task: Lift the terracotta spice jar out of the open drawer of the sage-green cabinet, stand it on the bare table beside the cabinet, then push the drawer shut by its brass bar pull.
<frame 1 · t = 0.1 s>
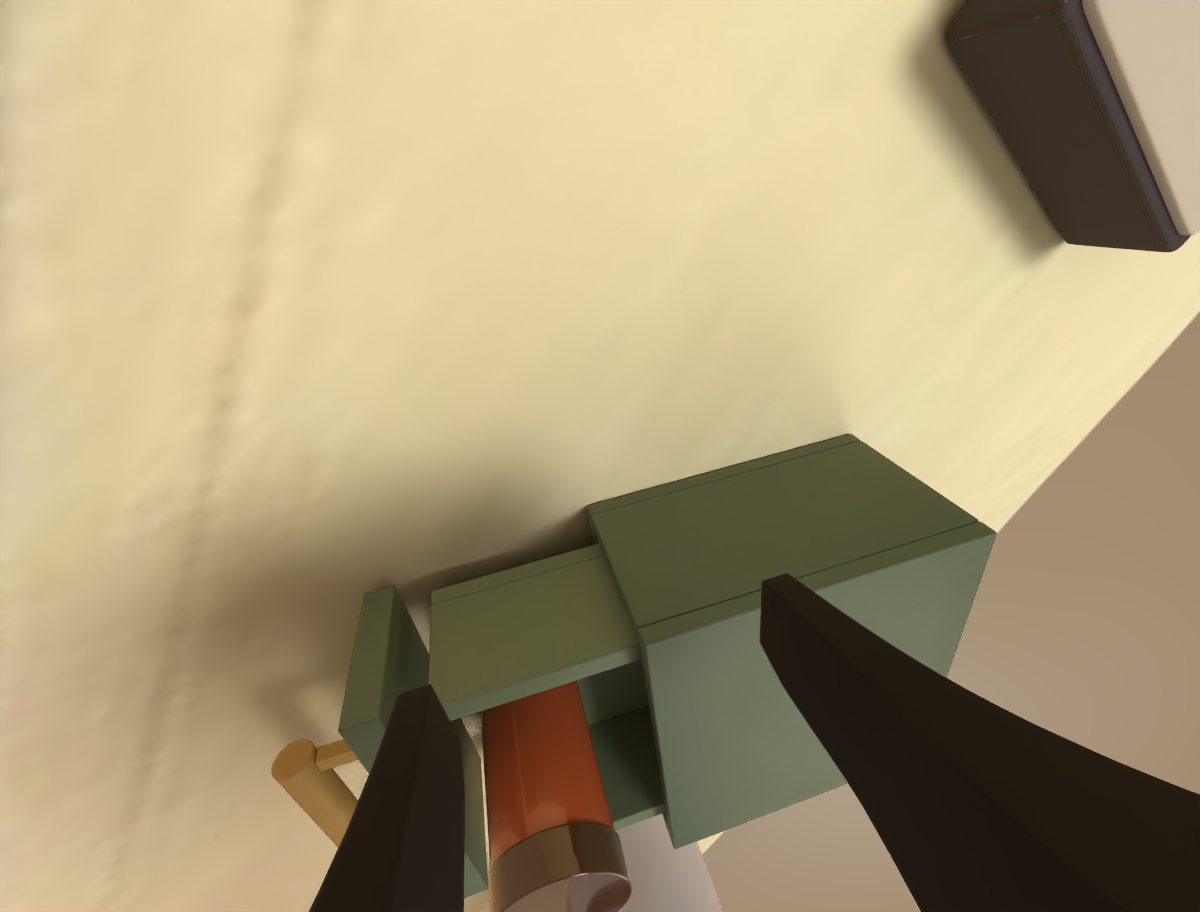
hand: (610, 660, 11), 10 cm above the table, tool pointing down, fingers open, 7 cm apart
spice jar: (527, 677, 23), point 2 cm above the table, touching drawer
cabinet: (725, 581, 26), on the table
drawer: (505, 723, 21), point 4 cm above the table, slide at 8.0 cm, touching spice jar
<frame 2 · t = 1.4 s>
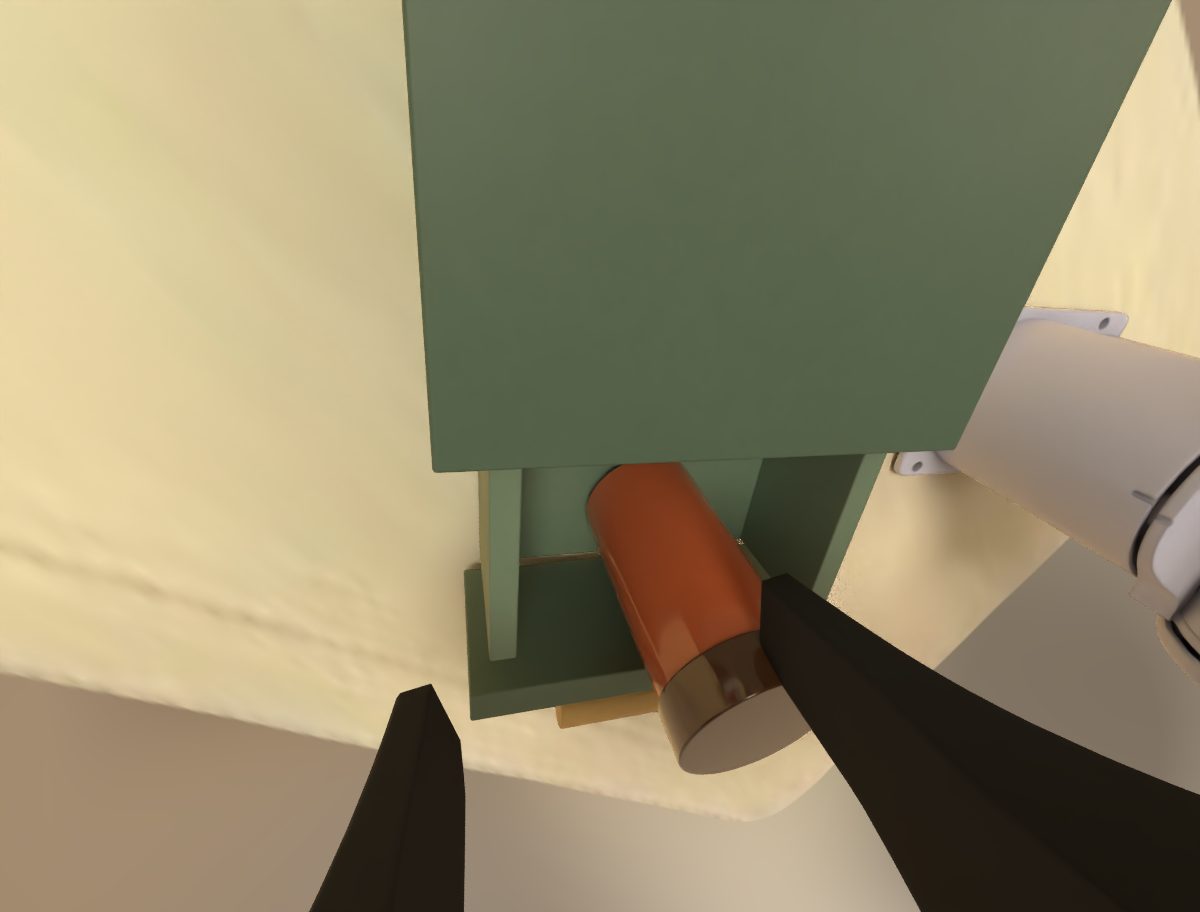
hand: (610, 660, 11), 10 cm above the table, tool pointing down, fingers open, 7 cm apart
spice jar: (640, 501, 19), point 2 cm above the table, tilted 9°, touching drawer, gripper
cabinet: (664, 166, 16), on the table
drawer: (648, 550, 18), point 4 cm above the table, slide at 8.3 cm, touching spice jar
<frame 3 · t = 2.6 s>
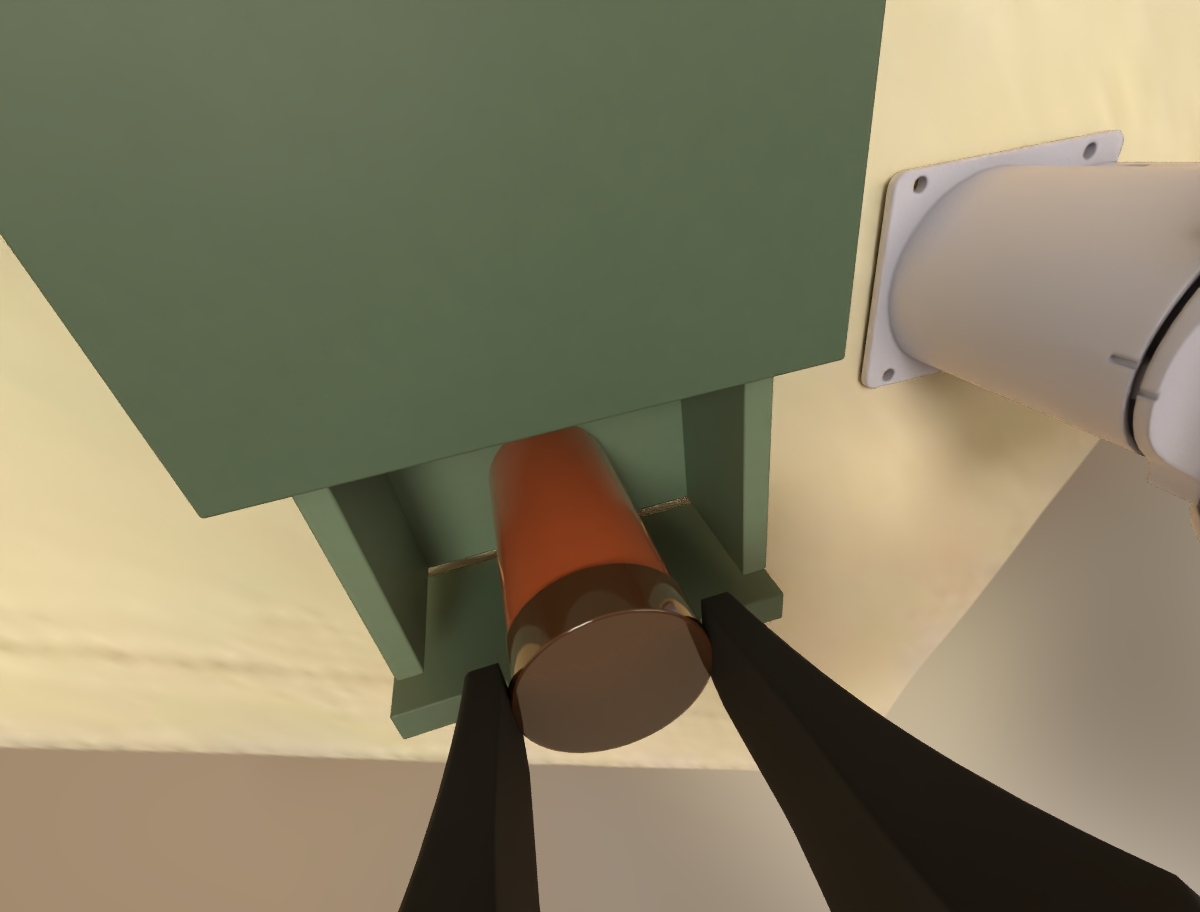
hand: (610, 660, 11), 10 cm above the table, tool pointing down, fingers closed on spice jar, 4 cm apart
spice jar: (550, 476, 18), point 2 cm above the table, touching drawer, gripper
cabinet: (461, 111, 14), on the table
drawer: (565, 533, 17), point 4 cm above the table, slide at 8.3 cm, touching spice jar
when the fingers open (2 cm above the table, at t = 8.8 s): spice jar stays where it is, on the table.
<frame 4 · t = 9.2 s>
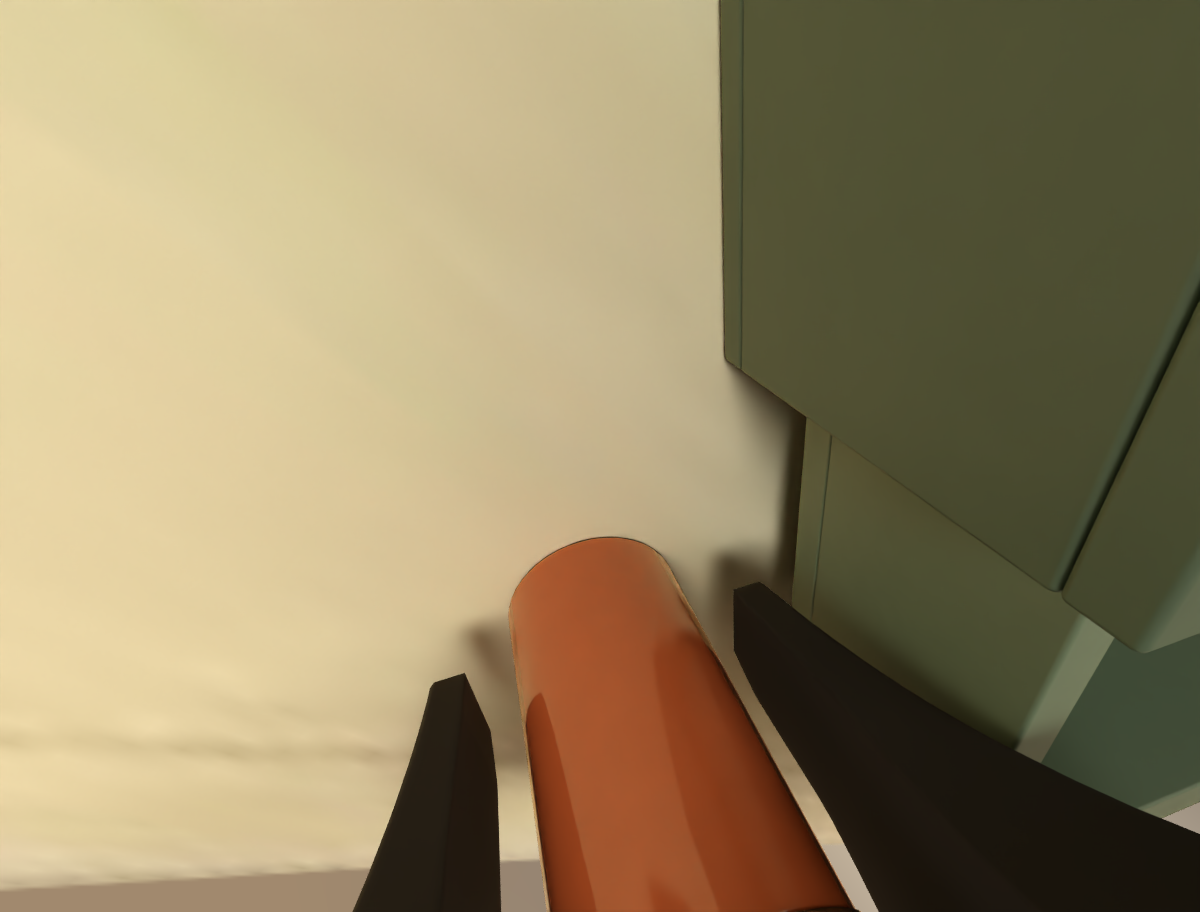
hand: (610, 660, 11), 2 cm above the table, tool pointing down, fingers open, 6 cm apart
spice jar: (593, 604, 13), on the table
drawer: (1097, 593, 11), point 4 cm above the table, slide at 8.3 cm, touching gripper
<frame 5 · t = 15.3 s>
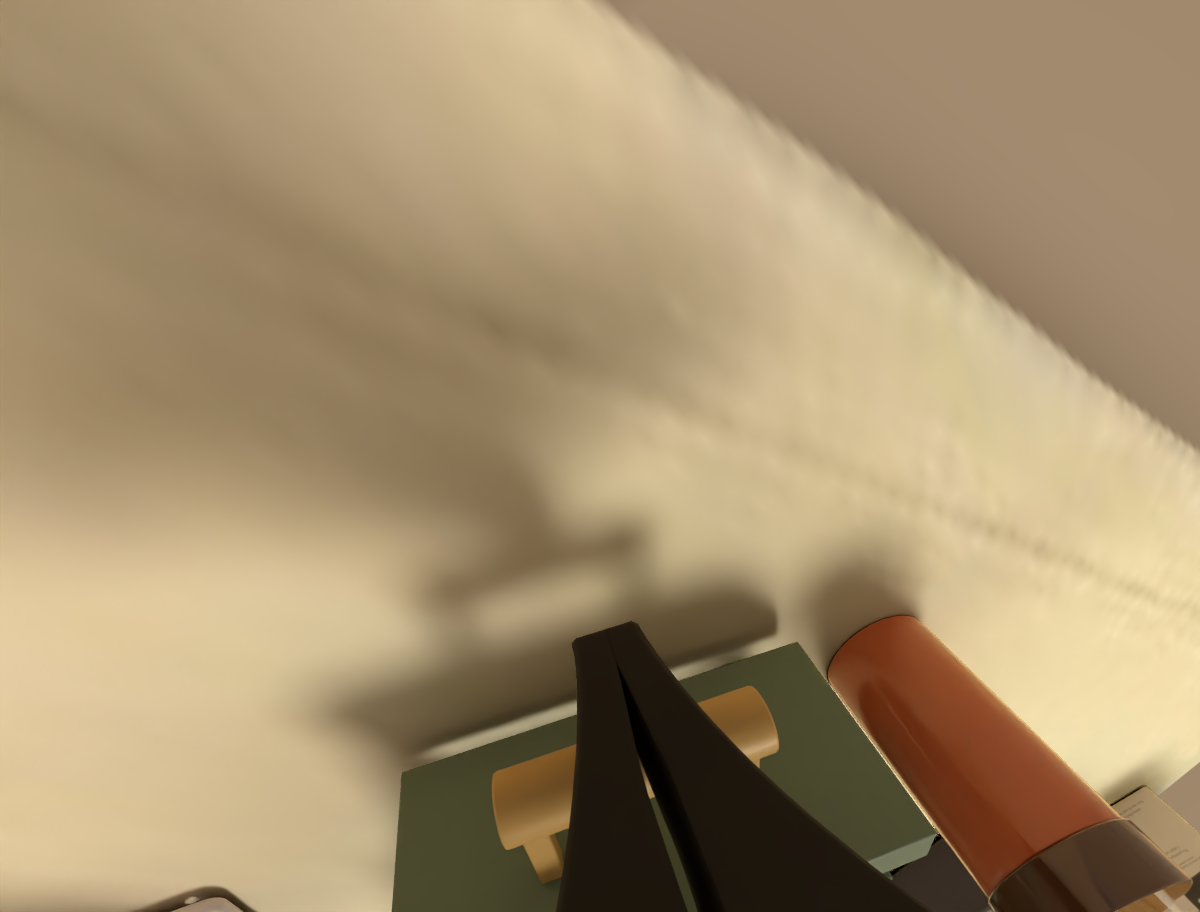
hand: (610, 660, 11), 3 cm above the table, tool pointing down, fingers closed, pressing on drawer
spice jar: (875, 654, 20), on the table
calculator: (964, 854, 37), on the table
ink box: (1119, 810, 42), on the table
drawer: (652, 860, 15), point 4 cm above the table, slide at 8.2 cm, touching gripper
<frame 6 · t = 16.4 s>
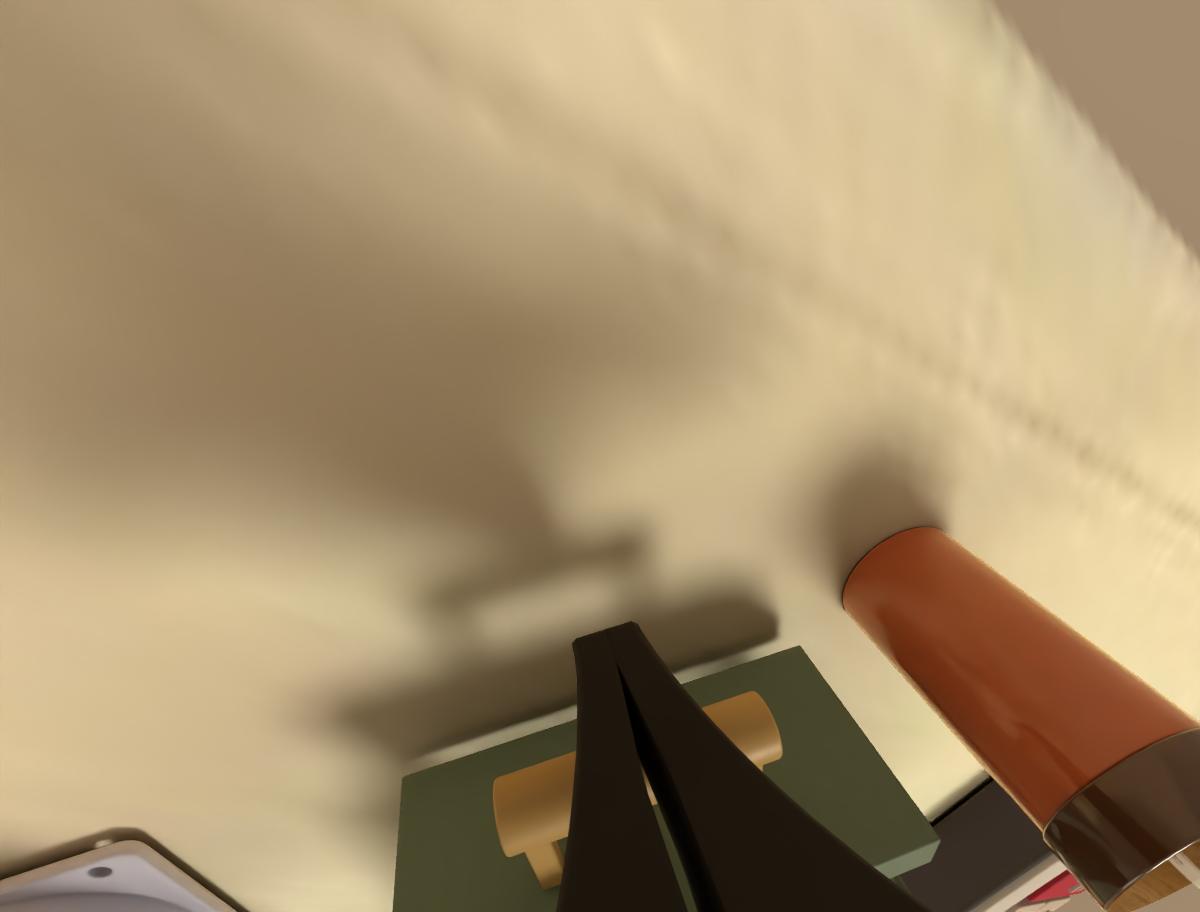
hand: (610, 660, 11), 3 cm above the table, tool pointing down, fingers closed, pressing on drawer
spice jar: (897, 576, 18), on the table
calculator: (981, 828, 34), on the table
drawer: (654, 865, 15), point 4 cm above the table, slide at 3.8 cm, touching gripper
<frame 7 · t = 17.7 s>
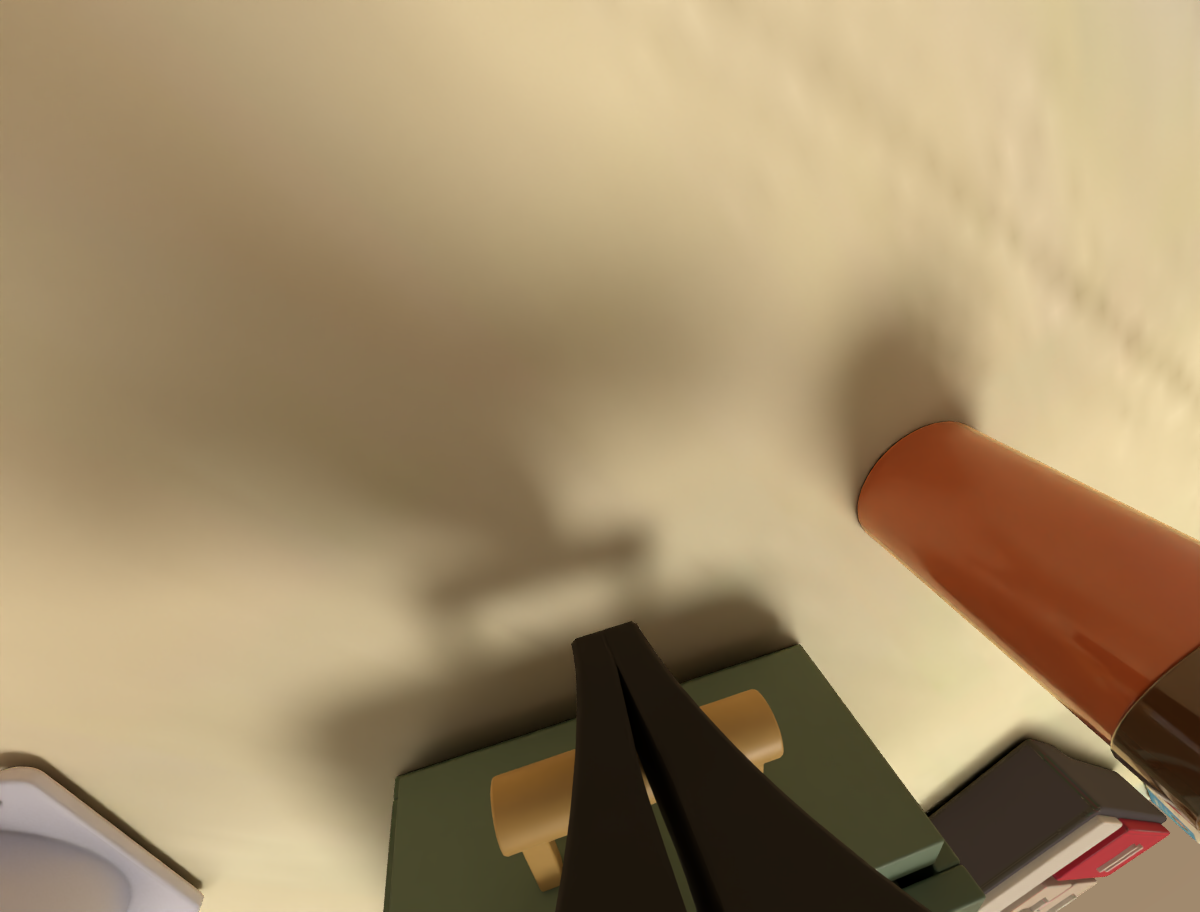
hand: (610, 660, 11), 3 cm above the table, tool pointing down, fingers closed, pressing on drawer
spice jar: (918, 484, 16), on the table
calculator: (1000, 806, 32), on the table
cabinet: (629, 800, 20), on the table
ink box: (1170, 764, 37), on the table
drawer: (653, 868, 15), point 4 cm above the table, slide at 0.0 cm, touching cabinet, gripper
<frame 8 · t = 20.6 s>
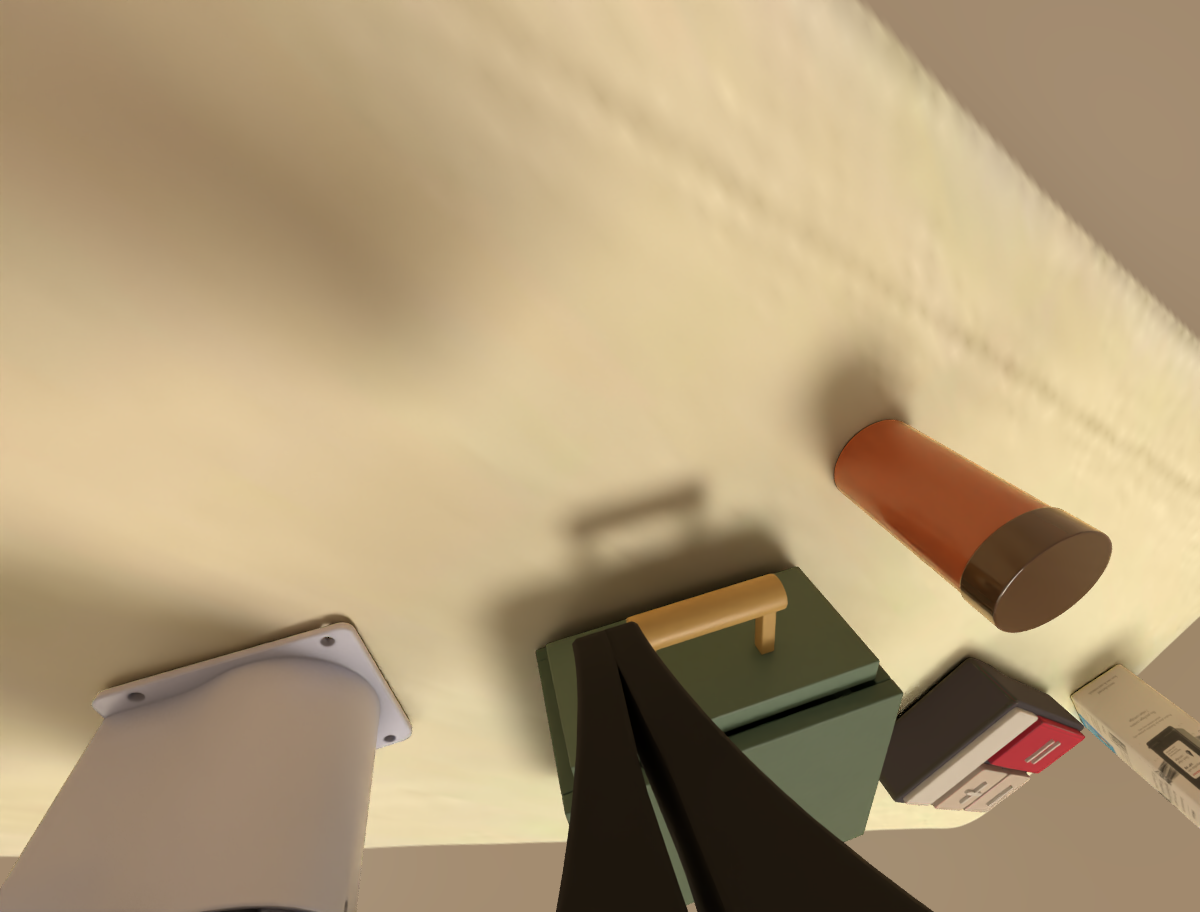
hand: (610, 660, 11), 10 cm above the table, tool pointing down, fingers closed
spice jar: (873, 459, 24), on the table
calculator: (955, 719, 41), on the table
cabinet: (678, 683, 29), on the table
ink box: (1097, 693, 46), on the table
drawer: (704, 703, 24), point 4 cm above the table, slide at 0.0 cm, touching cabinet
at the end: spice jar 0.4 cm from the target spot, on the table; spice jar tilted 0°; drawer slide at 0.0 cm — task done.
